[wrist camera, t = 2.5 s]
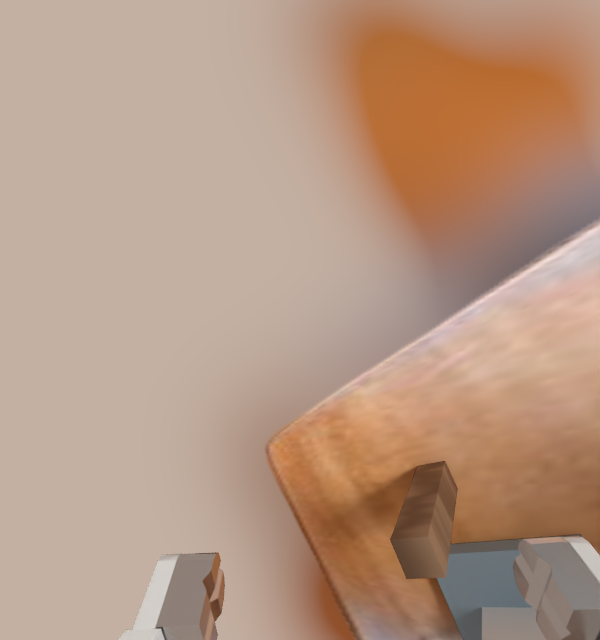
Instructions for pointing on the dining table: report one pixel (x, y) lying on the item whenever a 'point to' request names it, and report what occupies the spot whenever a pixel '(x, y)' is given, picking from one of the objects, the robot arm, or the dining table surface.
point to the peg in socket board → (488, 592)
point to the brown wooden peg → (426, 523)
